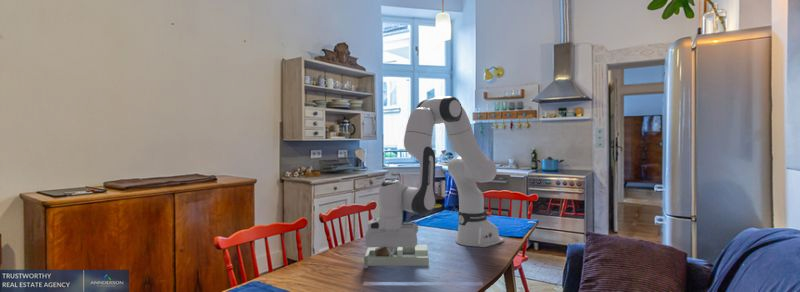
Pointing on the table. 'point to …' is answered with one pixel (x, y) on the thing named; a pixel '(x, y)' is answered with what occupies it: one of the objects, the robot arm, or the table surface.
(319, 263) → the table surface
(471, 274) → the table surface
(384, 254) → the block
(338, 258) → the table surface
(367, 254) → the tray
